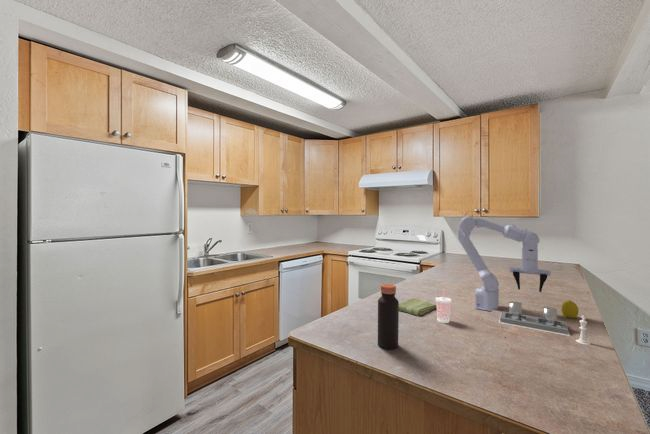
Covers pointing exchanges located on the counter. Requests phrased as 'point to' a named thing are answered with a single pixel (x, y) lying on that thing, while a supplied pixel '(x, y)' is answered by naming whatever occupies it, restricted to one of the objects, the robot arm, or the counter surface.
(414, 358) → the counter surface
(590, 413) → the counter surface
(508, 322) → the grey rectangular tray
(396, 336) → the bottle
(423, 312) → the washcloth
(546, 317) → the cylinder
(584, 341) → the chess piece
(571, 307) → the lemon
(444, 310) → the beverage cup
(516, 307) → the cylinder
